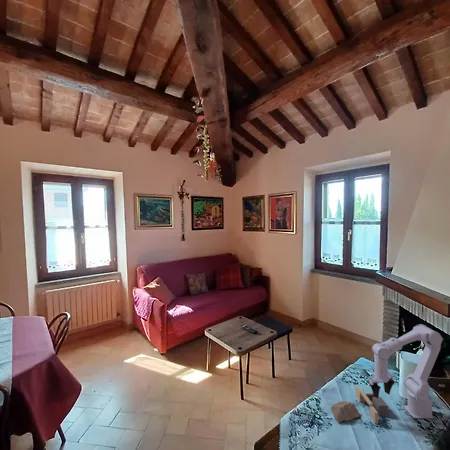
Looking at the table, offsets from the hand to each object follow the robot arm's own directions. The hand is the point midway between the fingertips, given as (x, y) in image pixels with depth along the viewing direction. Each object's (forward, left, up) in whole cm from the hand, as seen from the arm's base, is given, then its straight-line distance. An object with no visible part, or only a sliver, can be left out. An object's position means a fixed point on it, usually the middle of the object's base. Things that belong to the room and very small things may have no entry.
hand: (381, 394), depth 125 cm
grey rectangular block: (0, -2, -10) cm, 10 cm away
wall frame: (+7, -3, -9) cm, 12 cm away
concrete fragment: (+19, +2, -10) cm, 22 cm away
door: (+2, -6, -9) cm, 11 cm away
